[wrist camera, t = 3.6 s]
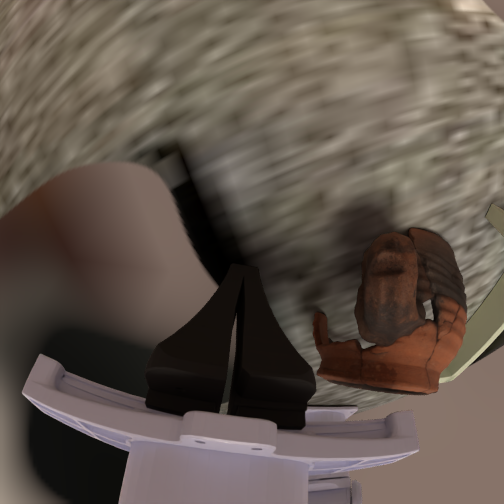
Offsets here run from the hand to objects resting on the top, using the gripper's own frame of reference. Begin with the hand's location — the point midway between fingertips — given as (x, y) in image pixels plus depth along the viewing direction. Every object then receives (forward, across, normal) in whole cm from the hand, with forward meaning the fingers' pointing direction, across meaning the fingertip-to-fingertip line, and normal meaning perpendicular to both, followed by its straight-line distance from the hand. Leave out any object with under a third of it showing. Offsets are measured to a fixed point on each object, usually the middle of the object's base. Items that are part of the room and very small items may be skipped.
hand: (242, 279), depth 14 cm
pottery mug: (+1, -8, 0) cm, 8 cm away
